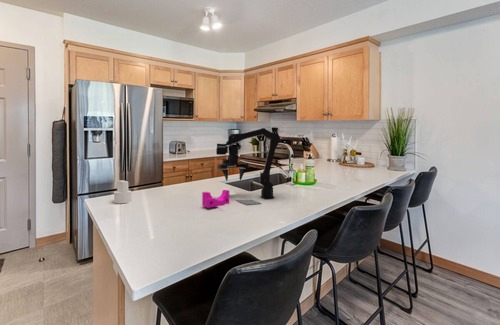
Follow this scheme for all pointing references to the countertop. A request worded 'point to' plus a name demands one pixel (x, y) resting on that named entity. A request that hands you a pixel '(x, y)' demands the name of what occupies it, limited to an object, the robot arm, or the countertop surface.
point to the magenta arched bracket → (212, 202)
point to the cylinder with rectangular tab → (122, 192)
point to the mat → (248, 202)
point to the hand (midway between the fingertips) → (233, 180)
